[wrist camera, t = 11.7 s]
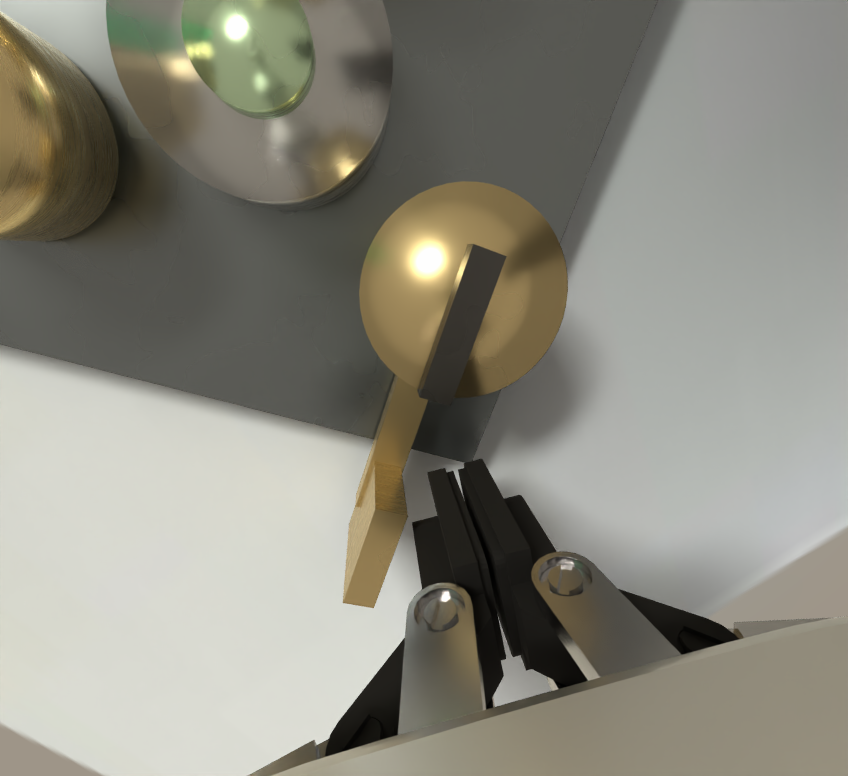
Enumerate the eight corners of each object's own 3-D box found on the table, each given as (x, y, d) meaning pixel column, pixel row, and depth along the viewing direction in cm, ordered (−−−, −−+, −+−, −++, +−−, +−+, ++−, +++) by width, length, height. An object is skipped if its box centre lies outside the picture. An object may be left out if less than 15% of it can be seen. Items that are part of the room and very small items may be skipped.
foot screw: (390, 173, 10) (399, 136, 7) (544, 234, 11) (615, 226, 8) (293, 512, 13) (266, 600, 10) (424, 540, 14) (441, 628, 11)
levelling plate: (-67, -579, 7) (-497, -1398, 4) (679, -104, 11) (838, -287, 7) (-78, 305, 11) (-286, 330, 8) (462, 447, 15) (493, 510, 11)
